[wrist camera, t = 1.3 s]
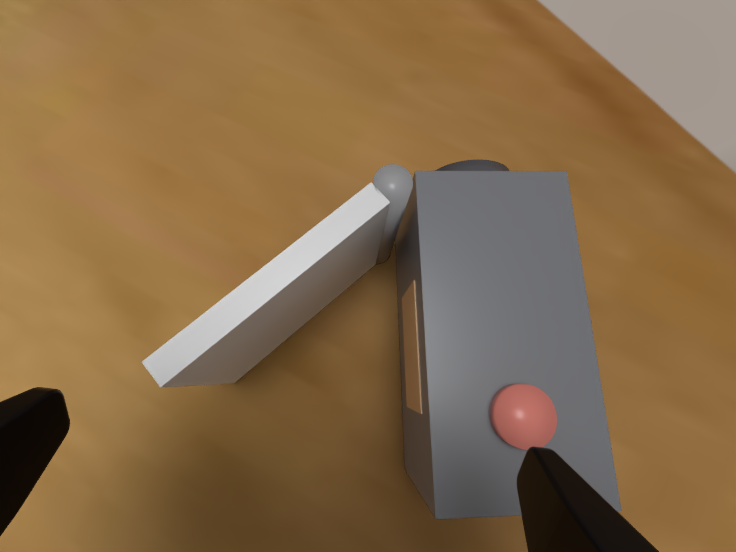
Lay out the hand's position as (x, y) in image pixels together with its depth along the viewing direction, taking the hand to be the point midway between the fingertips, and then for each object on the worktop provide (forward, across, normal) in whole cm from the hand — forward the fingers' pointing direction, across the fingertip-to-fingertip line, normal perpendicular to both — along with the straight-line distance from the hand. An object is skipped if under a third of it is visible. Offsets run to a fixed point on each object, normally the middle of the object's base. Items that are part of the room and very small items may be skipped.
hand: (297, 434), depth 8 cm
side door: (+13, +2, +4) cm, 13 cm away
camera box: (+12, -6, +5) cm, 15 cm away
